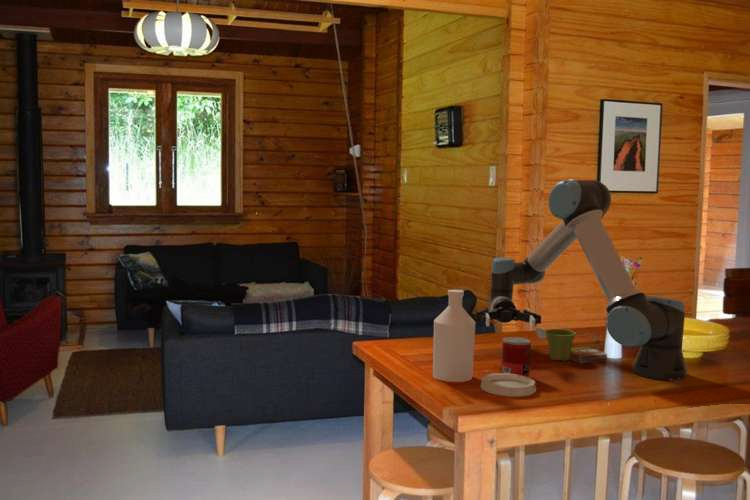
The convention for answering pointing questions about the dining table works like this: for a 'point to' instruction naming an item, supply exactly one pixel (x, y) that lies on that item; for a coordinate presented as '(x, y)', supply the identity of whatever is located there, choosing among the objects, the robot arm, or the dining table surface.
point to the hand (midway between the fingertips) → (511, 323)
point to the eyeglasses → (542, 334)
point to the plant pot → (560, 343)
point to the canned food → (516, 356)
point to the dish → (508, 385)
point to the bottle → (453, 342)
